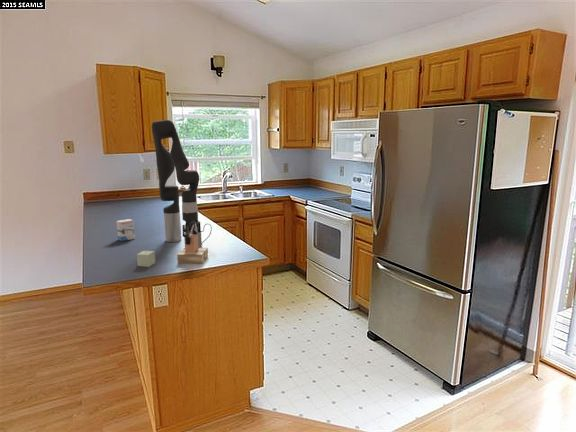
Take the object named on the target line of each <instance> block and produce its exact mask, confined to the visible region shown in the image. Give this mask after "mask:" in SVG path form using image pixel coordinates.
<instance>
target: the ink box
mask: <svg viewBox="0 0 576 432" xmlns="http://www.w3.org/2000/svg"><path fill="white" fill-rule="evenodd" d="M134 224H135V223H134V219H131V218H128V219H127V218H126V219H120V220H116V232H117V234H116V235H117V240H118V241H120V242H125V241H129V240H130V241H131V240H134V239H136V236H135V227H134V226H135V225H134Z"/></svg>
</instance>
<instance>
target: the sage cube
mask: <svg viewBox="0 0 576 432" xmlns="http://www.w3.org/2000/svg"><path fill="white" fill-rule="evenodd" d="M136 260H137V261H136V262H137V267H146V268H147V267H148V268H150V267H151V266H152V265H154V264H156V252H155V251H154V250H142V251H140V252H139V253H136Z"/></svg>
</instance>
